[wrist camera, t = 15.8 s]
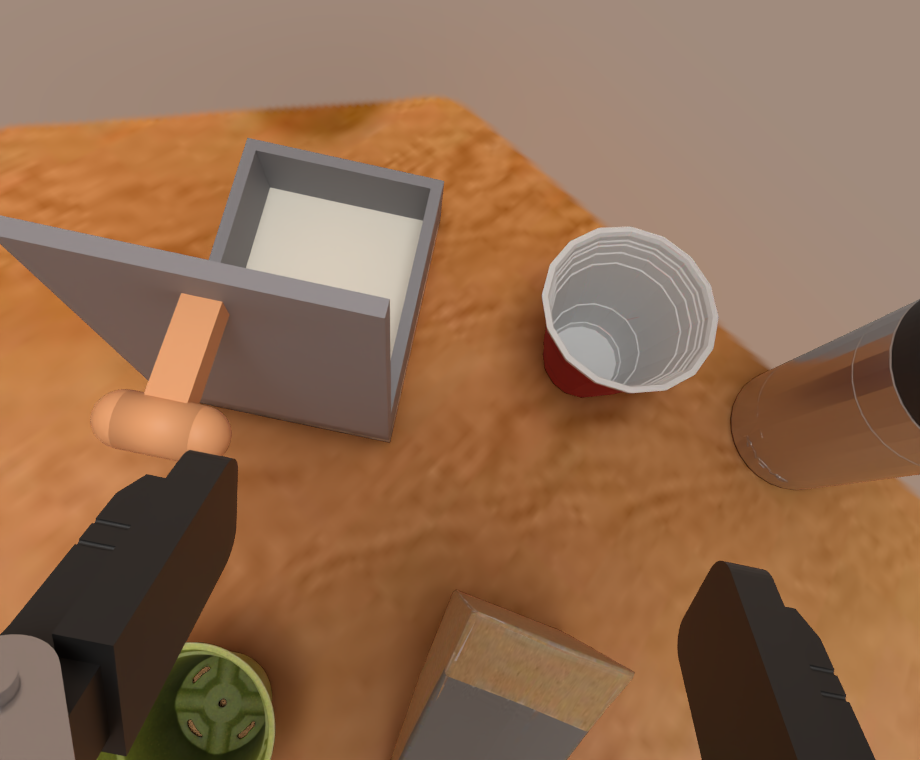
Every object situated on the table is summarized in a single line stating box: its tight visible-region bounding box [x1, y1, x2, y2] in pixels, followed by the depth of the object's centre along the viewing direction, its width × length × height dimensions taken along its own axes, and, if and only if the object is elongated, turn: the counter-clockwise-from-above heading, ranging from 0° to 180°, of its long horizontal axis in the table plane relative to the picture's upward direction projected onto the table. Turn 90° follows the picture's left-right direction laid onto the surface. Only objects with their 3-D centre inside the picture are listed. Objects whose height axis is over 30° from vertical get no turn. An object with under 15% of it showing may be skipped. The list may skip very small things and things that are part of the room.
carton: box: [200, 138, 444, 442], centre depth 47 cm, size 18×14×6 cm
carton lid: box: [0, 216, 391, 461], centre depth 32 cm, size 18×14×7 cm
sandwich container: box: [391, 590, 634, 760], centre depth 37 cm, size 9×15×15 cm, turn 159°
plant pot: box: [97, 642, 275, 760], centre depth 39 cm, size 9×9×9 cm
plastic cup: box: [542, 227, 719, 398], centre depth 45 cm, size 11×11×12 cm
